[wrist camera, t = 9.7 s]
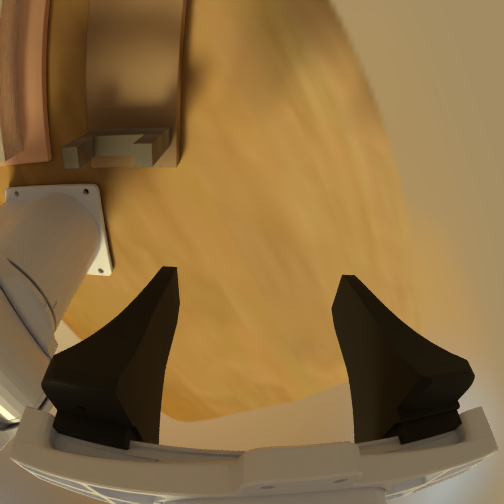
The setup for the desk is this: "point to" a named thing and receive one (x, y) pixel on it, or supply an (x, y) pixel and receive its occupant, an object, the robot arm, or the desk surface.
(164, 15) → the hook stand
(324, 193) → the desk surface
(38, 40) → the mat
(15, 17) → the steel rail
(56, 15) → the desk surface
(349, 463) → the robot arm
